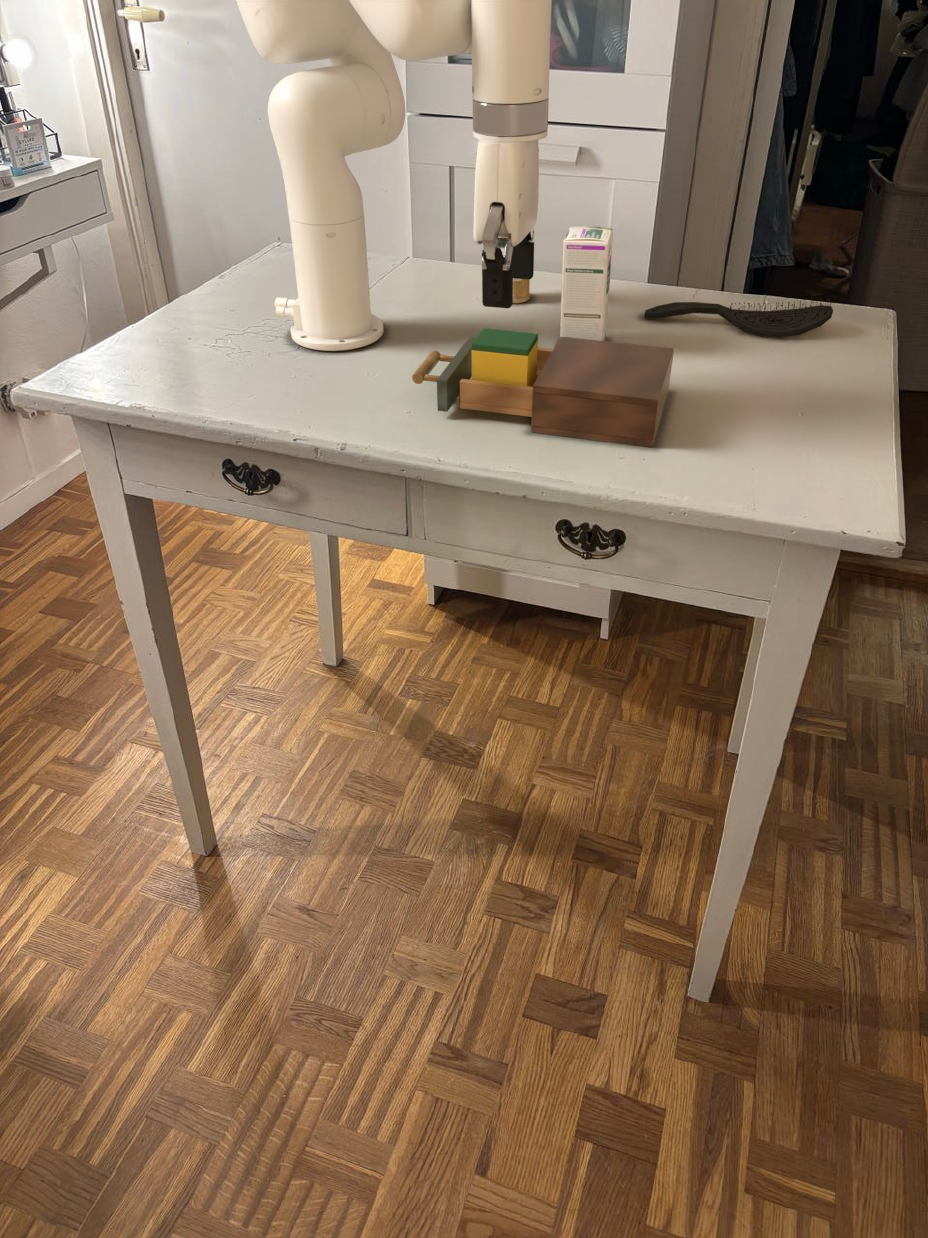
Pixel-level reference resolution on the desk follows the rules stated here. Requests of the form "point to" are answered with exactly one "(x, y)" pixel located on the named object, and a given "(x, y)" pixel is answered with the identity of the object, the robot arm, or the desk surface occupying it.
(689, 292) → the desk surface
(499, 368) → the sponge
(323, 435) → the desk surface
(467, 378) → the drawer
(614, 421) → the drawer unit
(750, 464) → the desk surface
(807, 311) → the hairbrush
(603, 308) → the syrup box
